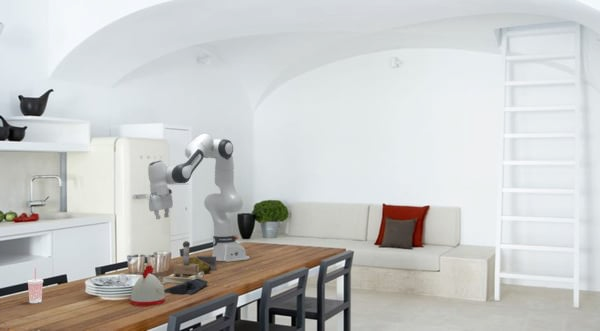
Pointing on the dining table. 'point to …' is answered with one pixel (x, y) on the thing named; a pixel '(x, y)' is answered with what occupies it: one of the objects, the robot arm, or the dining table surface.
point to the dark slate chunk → (187, 287)
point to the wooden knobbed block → (186, 264)
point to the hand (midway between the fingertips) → (162, 218)
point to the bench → (178, 277)
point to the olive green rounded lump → (200, 264)
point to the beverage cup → (35, 289)
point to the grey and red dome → (147, 290)
